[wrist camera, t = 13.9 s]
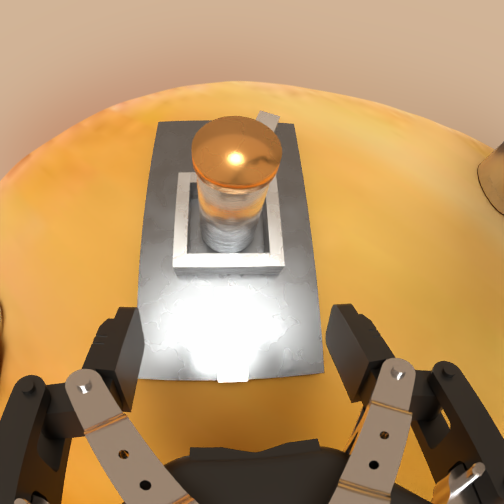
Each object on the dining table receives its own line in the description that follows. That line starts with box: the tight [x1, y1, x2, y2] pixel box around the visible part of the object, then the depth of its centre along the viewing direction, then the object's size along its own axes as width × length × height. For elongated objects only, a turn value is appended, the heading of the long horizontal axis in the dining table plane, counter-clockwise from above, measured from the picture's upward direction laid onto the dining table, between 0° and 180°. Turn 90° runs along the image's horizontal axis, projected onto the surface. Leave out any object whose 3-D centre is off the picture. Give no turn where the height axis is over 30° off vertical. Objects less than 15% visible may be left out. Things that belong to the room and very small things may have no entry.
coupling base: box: [137, 111, 324, 382], centre depth 24 cm, size 24×14×4 cm, turn 3°
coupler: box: [192, 116, 282, 253], centre depth 20 cm, size 5×5×10 cm
